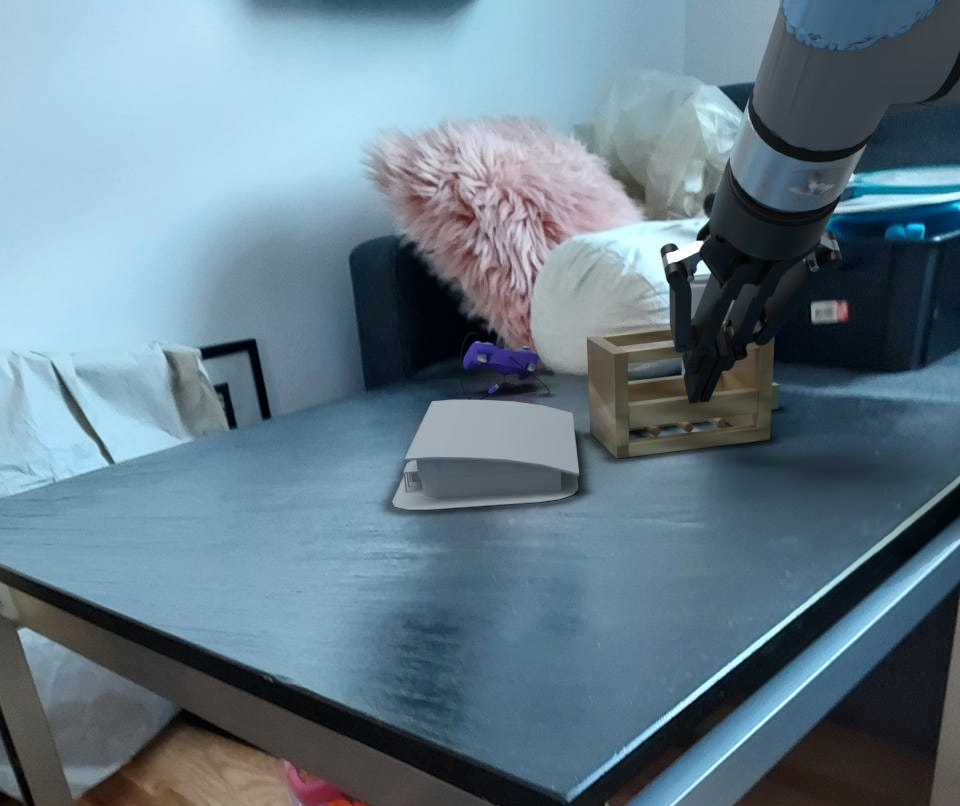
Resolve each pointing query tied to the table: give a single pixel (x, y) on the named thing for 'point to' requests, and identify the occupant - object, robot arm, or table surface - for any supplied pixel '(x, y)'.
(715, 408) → the rack
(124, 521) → the table surface
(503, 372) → the game controller
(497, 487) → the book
